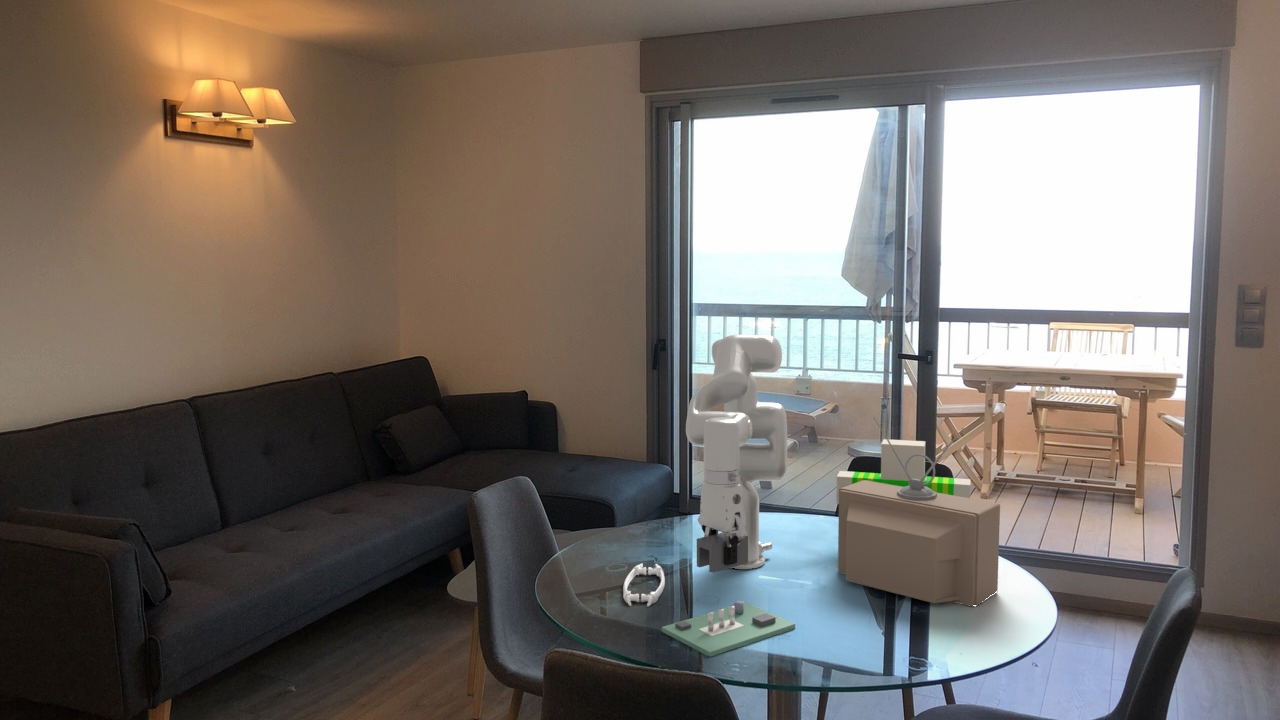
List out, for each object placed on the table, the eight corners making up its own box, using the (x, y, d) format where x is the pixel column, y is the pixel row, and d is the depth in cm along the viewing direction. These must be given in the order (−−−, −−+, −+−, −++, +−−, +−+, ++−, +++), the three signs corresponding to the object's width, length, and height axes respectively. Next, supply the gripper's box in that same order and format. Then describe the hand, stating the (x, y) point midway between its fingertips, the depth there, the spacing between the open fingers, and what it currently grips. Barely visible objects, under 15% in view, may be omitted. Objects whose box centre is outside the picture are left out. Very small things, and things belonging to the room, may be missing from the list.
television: (1000, 592, 222) (1005, 426, 217) (962, 616, 207) (967, 439, 203) (864, 559, 246) (866, 410, 242) (822, 579, 232) (823, 420, 227)
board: (745, 606, 214) (745, 592, 214) (795, 628, 201) (795, 613, 201) (661, 631, 200) (661, 616, 200) (709, 656, 187) (709, 640, 187)
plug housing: (732, 557, 203) (732, 530, 203) (748, 563, 199) (748, 535, 199) (696, 566, 198) (696, 538, 197) (712, 572, 194) (711, 544, 193)
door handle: (668, 572, 239) (660, 608, 215) (630, 571, 240) (617, 607, 216) (668, 562, 239) (660, 597, 214) (630, 561, 240) (617, 596, 215)
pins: (732, 622, 202) (732, 605, 202) (736, 624, 201) (736, 606, 201) (706, 630, 198) (706, 612, 197) (710, 632, 197) (710, 614, 196)
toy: (968, 554, 250) (971, 443, 246) (968, 561, 243) (971, 448, 240) (839, 542, 261) (840, 436, 258) (835, 549, 254) (837, 441, 251)
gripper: (762, 481, 192) (762, 567, 193) (709, 467, 205) (709, 547, 207) (735, 486, 187) (735, 574, 189) (682, 471, 201) (682, 554, 203)
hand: (721, 559), depth 198 cm, fingers closed on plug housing, 5 cm apart
